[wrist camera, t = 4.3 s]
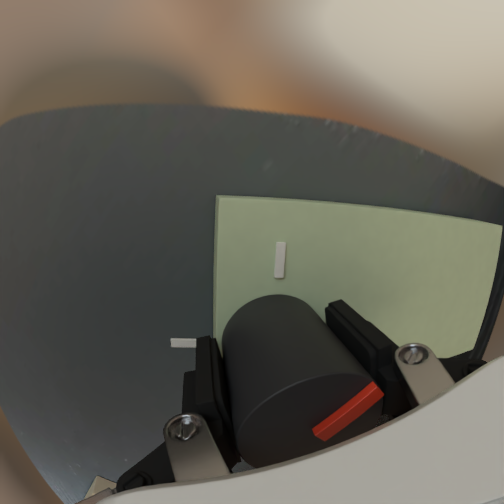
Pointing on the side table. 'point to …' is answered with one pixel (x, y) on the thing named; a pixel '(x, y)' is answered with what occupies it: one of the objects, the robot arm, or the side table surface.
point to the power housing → (99, 486)
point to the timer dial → (292, 382)
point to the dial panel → (357, 266)
